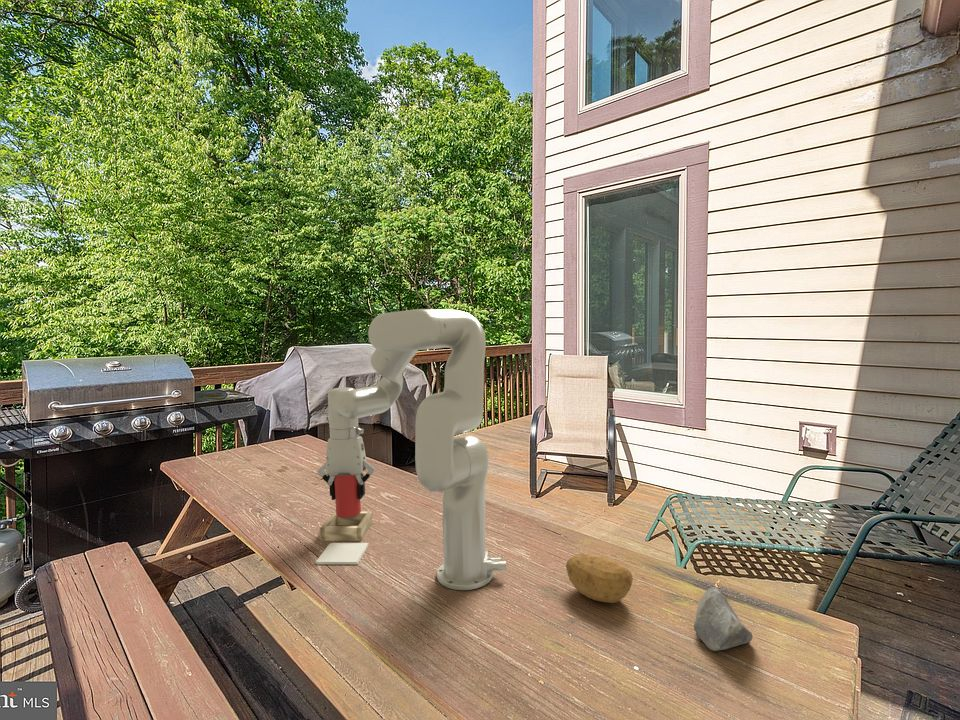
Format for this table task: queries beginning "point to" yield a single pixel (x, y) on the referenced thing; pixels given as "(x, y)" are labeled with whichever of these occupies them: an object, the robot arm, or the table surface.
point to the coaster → (342, 553)
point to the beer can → (346, 496)
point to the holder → (346, 527)
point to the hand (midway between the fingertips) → (347, 497)
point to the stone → (719, 622)
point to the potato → (599, 577)
